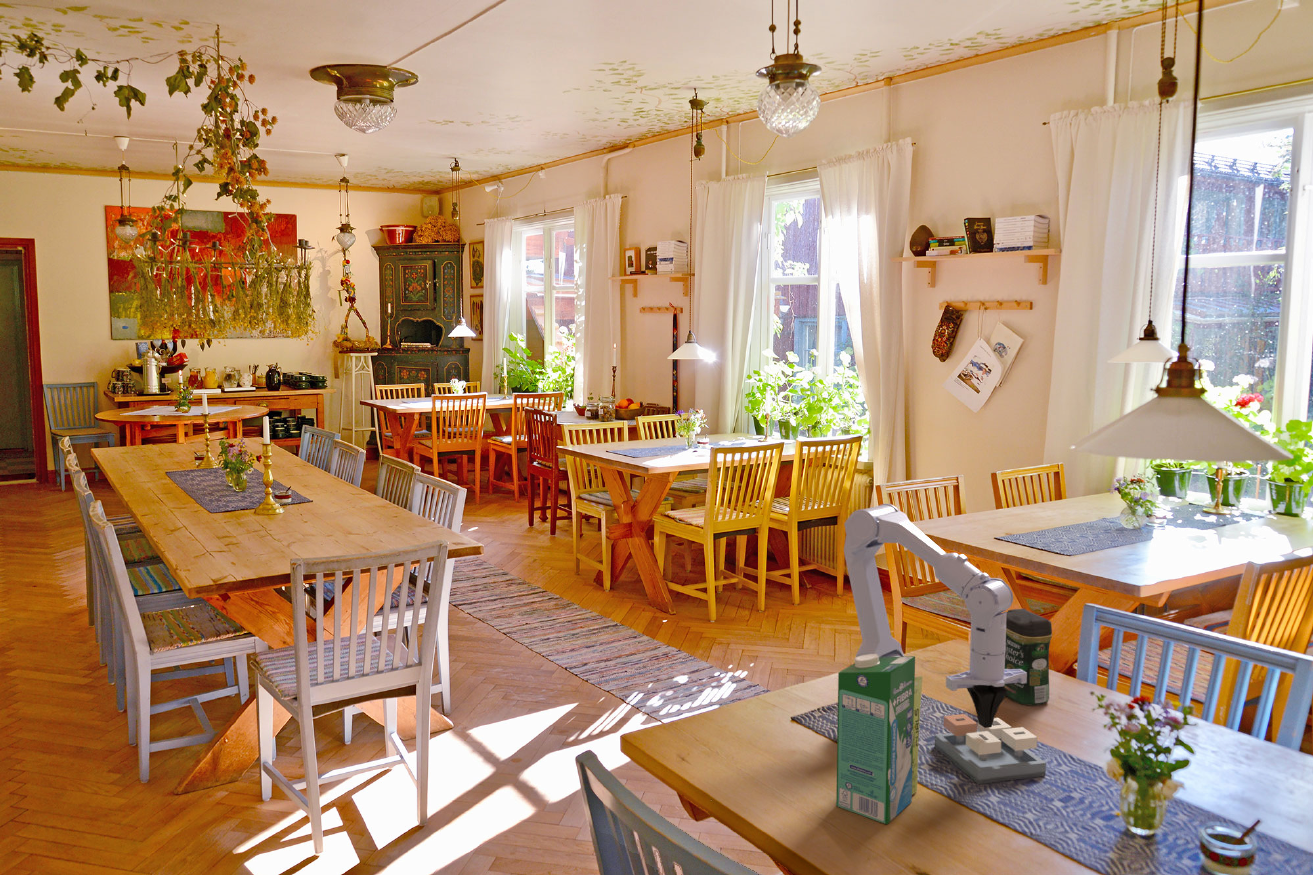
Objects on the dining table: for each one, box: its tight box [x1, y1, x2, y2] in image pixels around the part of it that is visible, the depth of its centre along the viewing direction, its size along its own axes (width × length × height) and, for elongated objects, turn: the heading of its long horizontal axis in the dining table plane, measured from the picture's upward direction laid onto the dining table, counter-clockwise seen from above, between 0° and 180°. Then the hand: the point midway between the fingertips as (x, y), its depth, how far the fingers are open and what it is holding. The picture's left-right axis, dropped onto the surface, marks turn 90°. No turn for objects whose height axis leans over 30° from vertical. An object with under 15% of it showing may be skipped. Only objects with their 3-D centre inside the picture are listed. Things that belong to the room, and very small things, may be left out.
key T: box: [1001, 726, 1038, 757], centre depth 161 cm, size 4×4×4 cm
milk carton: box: [835, 654, 916, 825], centre depth 148 cm, size 9×9×25 cm
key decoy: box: [943, 713, 978, 742], centre depth 166 cm, size 4×4×4 cm
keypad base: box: [934, 729, 1047, 785], centre depth 164 cm, size 13×14×2 cm
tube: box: [912, 675, 923, 796], centre depth 153 cm, size 6×5×20 cm
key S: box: [966, 731, 1001, 761], centre depth 159 cm, size 4×4×4 cm
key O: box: [977, 717, 1012, 739], centre depth 168 cm, size 4×4×4 cm
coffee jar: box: [1003, 608, 1053, 707], centre depth 191 cm, size 10×8×19 cm
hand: (985, 725), depth 159 cm, fingers closed
